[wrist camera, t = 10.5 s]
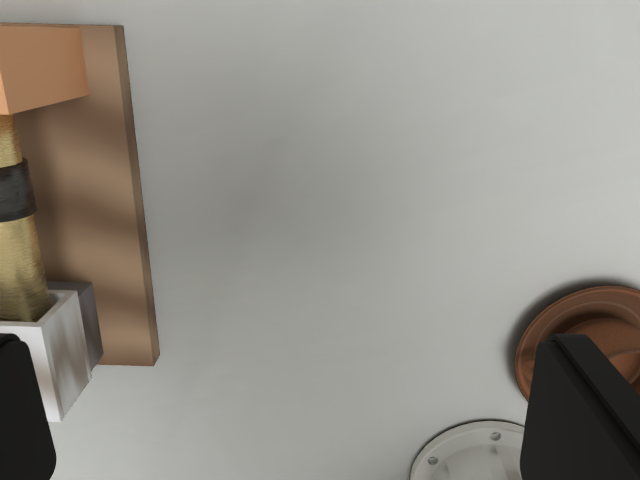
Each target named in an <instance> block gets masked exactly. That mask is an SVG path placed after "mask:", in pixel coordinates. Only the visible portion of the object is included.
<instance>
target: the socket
mask: <svg viewBox="0 0 640 480" xmlns="http://www.w3.org/2000/svg"><path fill="white" fill-rule="evenodd" d="M87 95H90V94H89V87H88V80H87V73H86V66H85V59H84V52H83V45H82V38H81V30H80V28H50V27H12V26H0V114H2V115H10V114H14V113H18V112H22V111H26V110H30V109H34V108H38V107H42V106H46V105H50V104H54V103H58V102H62V101H66V100H71V99H75V98H79V97H83V96H87Z"/></svg>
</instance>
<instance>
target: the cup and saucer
mask: <svg viewBox="0 0 640 480" xmlns="http://www.w3.org/2000/svg"><path fill="white" fill-rule="evenodd" d="M551 334H586V335H587V336H588V337H590V339H591V340H592V341H593V342H594V343H595V344H596V346H597V347H598V348H599V349H600V350H601V351H602V352H603V354H604V355H605V356H606V357H607V358H608V359H609V360H610V362H611V363H612V364H613V365H614V366H615V367H616V369H617V370H618V371H619V372H620V373H621V374H622V375H623V377H624V378H625V379H626V380H627V381H628V382H629V383H630V385H631V386H632V387H633V388H634V389H635V390H636V392H637V393H638V394H639V395H640V291H639V290H637V289H633V288H629V287H622V286H600V287H593V288H588V289H584V290H580V291H577V292H575V293H572V294H569V295H567V296H565V297H563V298H561V299H559V300H558V301H556V302H554V303H553V304H551V305H550V306H548V307H547V308H546V309H545V310H543V311H542V312H541V313H540V314H539V315H538V316H537V317H536V318H535V319H534V320H533V321H532V322H531V323H530V325H529V326H528V328H527V329H526V331H525V332H524V334H523V336H522V338H521V340H520V342H519V345H518V348H517V351H516V356H515V374H516V379H517V383H518V386H519V388H520V391H521V393H522V394H523V396H524V397H525V399H526V400H527V402H529V395H530V389H531V382H532V376H533V369H534V363H535V356H536V350H537V346H538V344H539V343H540V342H547V339H548V337H549V336H550V335H551Z"/></svg>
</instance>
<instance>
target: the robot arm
mask: <svg viewBox="0 0 640 480" xmlns="http://www.w3.org/2000/svg"><path fill="white" fill-rule="evenodd" d="M55 466H56V452H55V448H54V444H53V440H52V436H51V432H50V428H49V425H48V421H47V417H46V413H45V409H44V405H43V401H42V397H41V393H40V389H39V385H38V381H37V377H36V373H35V369H34V365H33V361H32V357H31V353H30V349H29V347H28V345H27V344H26V342H23V341H21V340H20V338H19V337H18V336H17V335H16V334H13V333H0V480H49V479H50V478H51V476H52V474H53V472H54V469H55ZM410 480H640V395H639V394H638V393H637V392H636V390H635V389H634V388H633V387H632V386H631V385H630V383H629V382H628V381H627V380H626V379H625V378H624V377H623V375H622V374H621V373H620V372H619V371H618V370H617V369H616V367H615V366H614V365H613V364H612V363H611V362H610V360H609V359H608V358H607V357H606V356H605V355H604V354H603V352H602V351H601V350H600V349H599V348H598V347H597V346H596V344H595V343H594V342H593V341H592V340H591V339H590V337H588V336H587V335H586V334H551V335H550V336H549V337H548V339H547V342H540V343H539V344H538V346H537V350H536V356H535V363H534V369H533V376H532V382H531V389H530V395H529V402H528V408H527V415H526V421H525V428H524V427H522V426H519V425H516V424H511V423H507V422H499V421H483V422H474V423H469V424H465V425H461V426H458V427H456V428H453V429H451V430H448V431H446V432H444V433H443V434H441V435H439V436H438V437H436V438H435V439H433V440H432V441H431V442H430V443H429V444H428V445H426V446H425V447H424V449H423V450H422V451H421V452H420V454H419V455H418V456H417V458H416V460H415V462H414V464H413V466H412V470H411V474H410Z"/></svg>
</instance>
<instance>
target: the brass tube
mask: <svg viewBox="0 0 640 480" xmlns="http://www.w3.org/2000/svg"><path fill="white" fill-rule="evenodd" d="M36 211H37V206H36V201H35V196H34V191H33V186H32V180H31V175H30V170H29V165H28V160H27V159H26V158H24V157H22V155H21V150H20V145H19V140H18V134H17V129H16V124H15V119H14V114H10V115H2V114H0V321H11V322H38V321H39V320H40V319H41V318H42V317H43V316H44V315H45V314H46V313H47V312H48V311H49V310H50V309H51V308H52V307H51V302H50V297H49V292H48V287H47V282H46V277H45V272H44V266H43V261H42V256H41V251H40V246H39V241H38V236H37V231H36V226H35V221H34V216H33V214H34V213H35V212H36Z"/></svg>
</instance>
